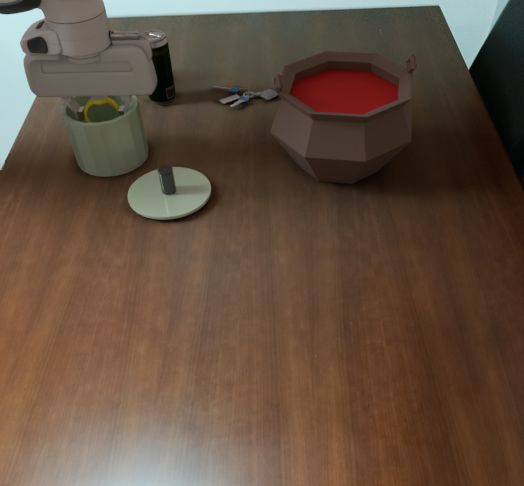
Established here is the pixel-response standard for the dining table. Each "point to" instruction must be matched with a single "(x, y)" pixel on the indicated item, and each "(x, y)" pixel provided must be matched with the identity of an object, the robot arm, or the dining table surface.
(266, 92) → the key chain
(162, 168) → the lid
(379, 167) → the brown cauldron
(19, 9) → the robot arm
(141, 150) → the pot
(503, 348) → the dining table surface
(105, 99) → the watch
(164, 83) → the beer can
